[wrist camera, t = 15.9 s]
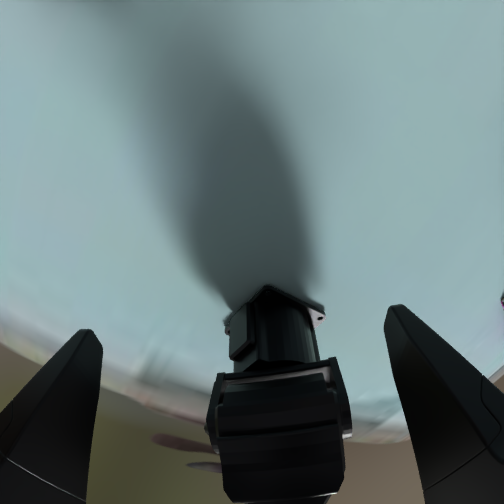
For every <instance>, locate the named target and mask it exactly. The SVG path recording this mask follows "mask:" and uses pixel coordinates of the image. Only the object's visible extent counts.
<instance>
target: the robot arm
mask: <svg viewBox="0 0 504 504" xmlns="http://www.w3.org/2000/svg"><path fill="white" fill-rule="evenodd" d="M266 291H270V292H266ZM320 316H321V317H320ZM325 319H326V315H325V313H324V312H323V311H321V310H319V309H317V308H315V307H313V306H311V305H309V304H307V303H305V302H303V301H301V300H299V299H297V298H295V297H293V296H291V295H289V294H287V293H285V292H283V291H281V290H279V289H277V288H275V287H273V286H270V285H266V286H264V287H262V288H261V289H260V291H259V292H258V293H257V294H256V295H255V296H254V297H253V298H252V299H251V300H250V301H249V302H247V303H245V304H244V305H243V307H242V308H241V309H240V310H239V311H238V312H237V313H236V314H235V315H234V316H233V317H232V318H231V319H230V323H229V324H228V325H227V326H226V327H225V334H227V335H229V336H230V339H229V358H230V360H233V361H234V373H225V372H223V373H217V377H216V382H214V386H213V390H212V395H211V399H210V404H209V408H208V412H207V417H206V423H205V425H204V429H205V432H206V433H207V434H208V435H209V437H210V442H211V445H212V447H213V450H214V451H215V452H216V453H219V454H220V460H221V465H222V476H223V488H224V491H225V493H226V494H227V496H228V497H229V498H230V500H231V501H232V502H233V503H244V504H326V503H327V501H328V500H329V498H330V496H331V495H332V494H335V493H337V492H338V491H339V489H340V486H341V484H342V482H343V480H344V471H345V457H344V446H343V439H348V438H351V437H352V419H351V411H350V405H349V400H348V396H347V392H346V388H345V385H344V382H343V378H342V375H341V372H340V369H339V365H338V362H337V359H336V357H331V358H328V359H326V360H321V361H320V356H319V351H318V345H317V340H316V335H315V330H314V329H315V328H316V327H317V326H319V325H320V324H321V323H322V322H323V321H324V320H325ZM384 334H385V338H386V343H387V348H388V353H389V358H390V363H391V368H392V373H393V377H394V381H395V384H396V388H397V391H398V394H399V398H400V401H401V404H402V408H403V411H404V415H405V419H406V422H407V426H408V430H409V434H410V437H411V441H412V445H413V449H414V453H415V457H416V461H417V466H418V470H419V475H420V479H421V483H422V489H423V494H424V499H425V504H504V393H503V392H501V391H500V390H499V389H498V388H497V387H496V386H495V385H494V384H492V383H491V382H490V381H489V380H488V379H487V378H486V377H485V376H484V375H482V373H480V372H479V371H478V370H477V369H476V368H475V367H474V366H473V365H472V364H471V363H470V362H468V361H467V360H466V359H465V358H464V357H463V356H462V355H461V354H460V353H459V352H457V351H456V350H455V349H454V348H453V347H452V346H451V345H450V344H448V343H447V342H446V341H445V340H444V339H443V338H442V337H440V336H439V335H438V334H437V333H436V332H435V331H434V330H432V329H431V328H430V327H429V326H428V325H427V324H425V323H424V322H423V321H422V320H421V319H420V318H418V317H417V316H416V315H415V314H414V313H413V312H411V311H410V310H409V309H408V308H407V307H406V306H404V305H402V304H398V305H391V306H390V307H389V308H388V311H387V315H386V319H385V322H384ZM102 358H103V347H102V345H101V343H100V341H99V340H98V338H97V337H96V335H95V334H94V332H93V331H92V330H91V329H80V330H79V331H77V332H76V333H75V334H74V335H73V336H72V337H71V338H70V339H69V340H68V341H67V342H66V343H65V344H64V345H63V346H62V347H61V349H60V350H59V351H58V352H57V353H56V354H55V355H54V356H53V357H52V358H51V359H50V360H49V361H48V362H47V363H46V364H45V365H44V366H43V367H42V368H41V369H40V371H38V372H37V374H36V375H35V376H34V377H33V378H32V379H31V380H30V381H29V382H28V383H27V384H26V385H25V386H24V387H23V389H22V390H21V391H20V392H19V393H18V394H17V395H16V396H15V397H14V398H13V400H12V401H11V402H10V403H9V404H8V405H7V406H6V408H4V409H3V411H2V412H1V413H0V504H86V495H87V483H88V472H89V462H90V453H91V444H92V437H93V430H94V423H95V416H96V411H97V404H98V399H99V390H100V380H101V368H102Z"/></svg>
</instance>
